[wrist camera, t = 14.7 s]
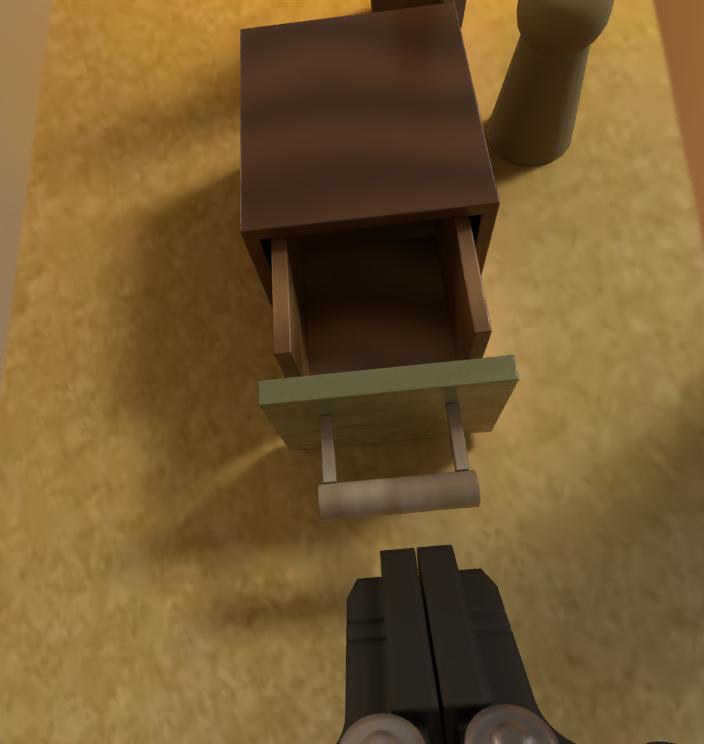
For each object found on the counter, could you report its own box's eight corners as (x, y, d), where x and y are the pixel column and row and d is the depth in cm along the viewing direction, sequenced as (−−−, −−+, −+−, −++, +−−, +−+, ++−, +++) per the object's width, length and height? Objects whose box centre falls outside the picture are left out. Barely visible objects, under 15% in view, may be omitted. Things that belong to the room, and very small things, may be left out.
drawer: (507, 519, 29) (543, 490, 22) (293, 538, 30) (259, 517, 23) (455, 233, 36) (469, 142, 29) (282, 252, 37) (255, 167, 30)
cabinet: (474, 303, 35) (500, 202, 27) (278, 324, 36) (239, 231, 27) (442, 131, 41) (454, 1, 32) (273, 151, 42) (240, 28, 33)
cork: (574, 105, 41) (631, -58, 31) (569, 169, 39) (630, 16, 29) (490, 99, 42) (520, -62, 32) (482, 161, 40) (511, 9, 30)
